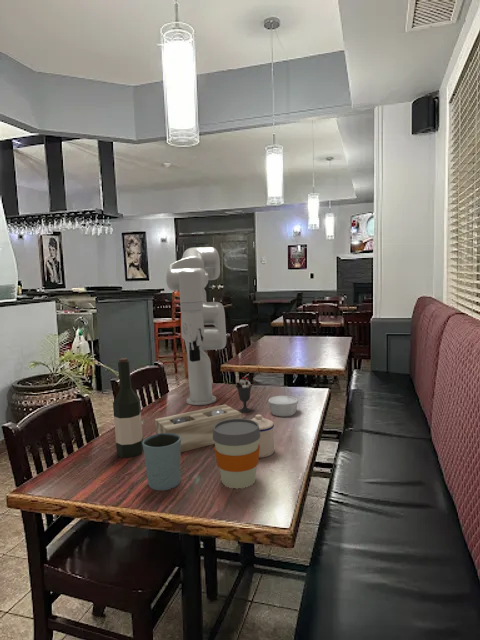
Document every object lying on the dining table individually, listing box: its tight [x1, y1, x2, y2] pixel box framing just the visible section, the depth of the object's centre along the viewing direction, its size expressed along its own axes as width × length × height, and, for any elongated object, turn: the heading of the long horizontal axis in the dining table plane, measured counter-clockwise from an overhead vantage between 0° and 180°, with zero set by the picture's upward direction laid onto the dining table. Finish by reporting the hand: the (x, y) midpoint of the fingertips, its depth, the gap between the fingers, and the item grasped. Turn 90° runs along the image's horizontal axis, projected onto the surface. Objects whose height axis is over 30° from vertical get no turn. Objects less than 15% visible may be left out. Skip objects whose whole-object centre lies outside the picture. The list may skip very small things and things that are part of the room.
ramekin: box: [267, 395, 299, 417], centre depth 172 cm, size 11×11×5 cm
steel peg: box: [212, 409, 224, 416], centre depth 151 cm, size 4×4×8 cm
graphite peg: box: [173, 417, 185, 424], centre depth 145 cm, size 4×4×8 cm
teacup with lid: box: [250, 413, 275, 458], centre depth 136 cm, size 12×9×12 cm
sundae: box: [235, 373, 253, 414], centre depth 175 cm, size 7×7×15 cm
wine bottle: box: [112, 357, 144, 459], centre depth 139 cm, size 8×8×30 cm
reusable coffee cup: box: [213, 418, 260, 490], centre depth 118 cm, size 13×13×15 cm
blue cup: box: [142, 433, 182, 491], centre depth 119 cm, size 10×10×12 cm
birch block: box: [154, 404, 243, 453], centre depth 148 cm, size 12×26×8 cm, turn 119°
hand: (195, 360), depth 151 cm, fingers closed
